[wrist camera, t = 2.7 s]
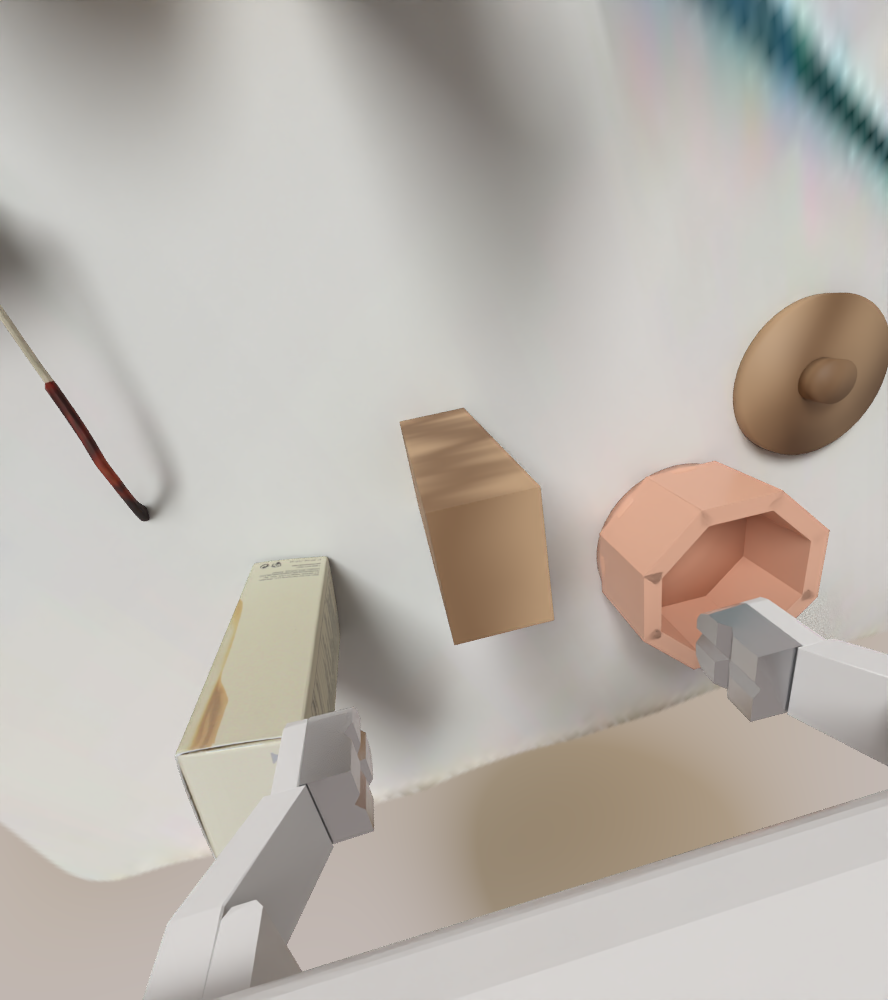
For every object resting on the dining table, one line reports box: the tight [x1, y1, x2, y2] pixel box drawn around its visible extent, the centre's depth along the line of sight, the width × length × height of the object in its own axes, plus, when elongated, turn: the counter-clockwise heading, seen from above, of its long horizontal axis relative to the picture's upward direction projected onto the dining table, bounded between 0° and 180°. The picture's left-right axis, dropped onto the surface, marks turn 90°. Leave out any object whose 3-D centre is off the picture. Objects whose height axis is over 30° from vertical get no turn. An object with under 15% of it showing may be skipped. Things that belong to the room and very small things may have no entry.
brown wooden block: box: [400, 408, 554, 645], centre depth 20 cm, size 4×5×12 cm
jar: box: [597, 461, 830, 670], centre depth 28 cm, size 11×11×6 cm
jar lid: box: [733, 293, 888, 455], centre depth 26 cm, size 9×9×2 cm
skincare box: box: [175, 557, 340, 859], centre depth 22 cm, size 6×4×12 cm
